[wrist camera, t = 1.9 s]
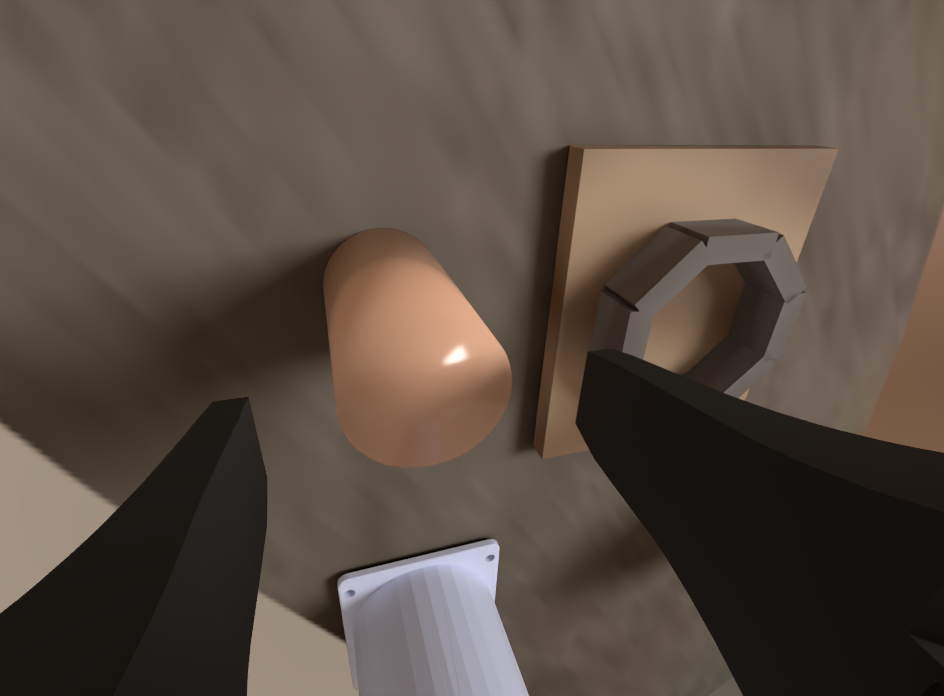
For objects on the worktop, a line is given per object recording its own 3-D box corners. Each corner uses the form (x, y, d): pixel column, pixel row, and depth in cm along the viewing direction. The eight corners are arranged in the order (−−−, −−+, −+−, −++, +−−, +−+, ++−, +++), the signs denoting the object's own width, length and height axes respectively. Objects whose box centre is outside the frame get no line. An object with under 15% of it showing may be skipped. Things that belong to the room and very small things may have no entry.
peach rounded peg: (439, 331, 18) (506, 451, 12) (329, 343, 17) (346, 481, 11) (439, 225, 16) (518, 308, 10) (315, 231, 15) (326, 328, 9)
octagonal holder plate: (722, 409, 25) (769, 445, 23) (533, 445, 22) (562, 490, 20) (815, 145, 19) (892, 155, 17) (569, 145, 16) (619, 157, 14)
